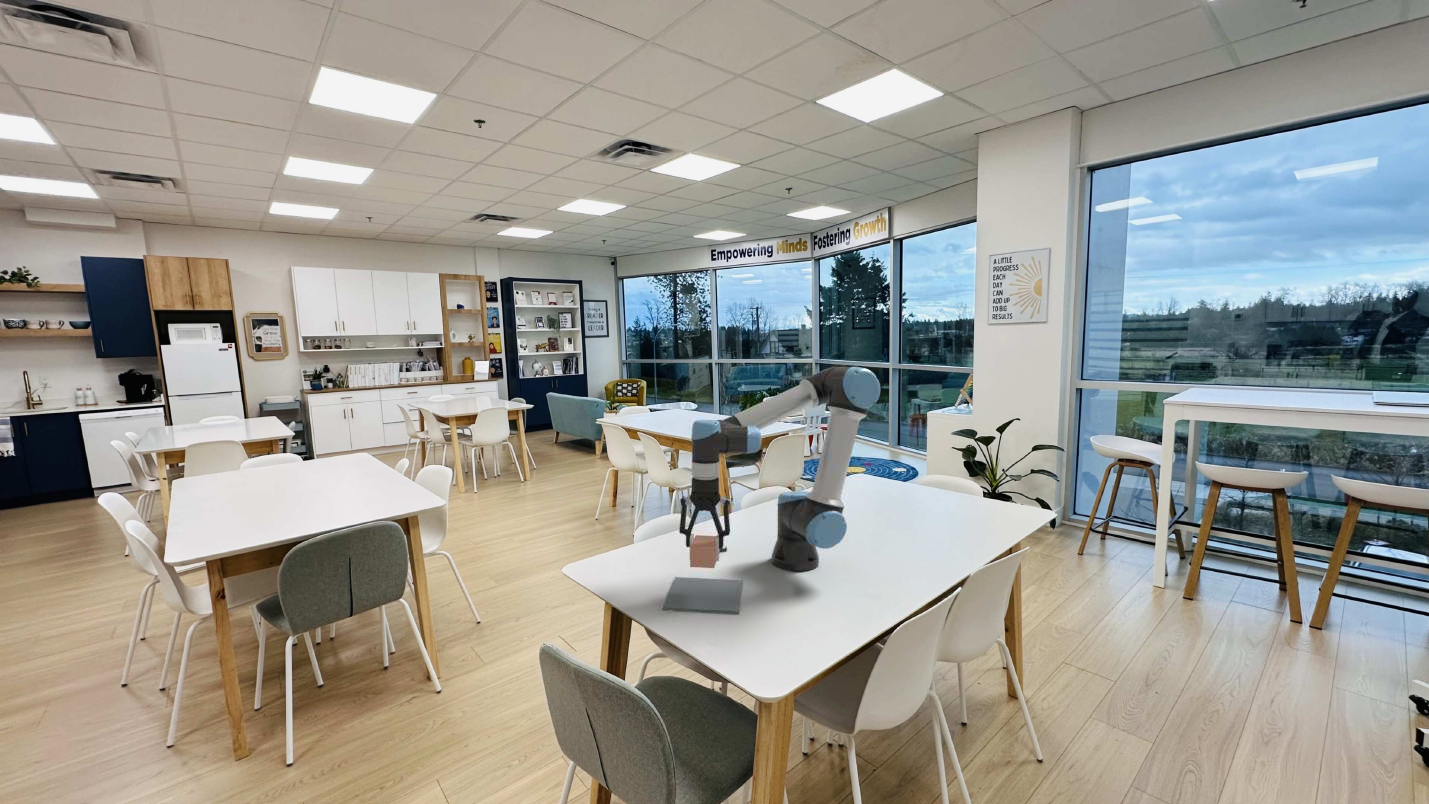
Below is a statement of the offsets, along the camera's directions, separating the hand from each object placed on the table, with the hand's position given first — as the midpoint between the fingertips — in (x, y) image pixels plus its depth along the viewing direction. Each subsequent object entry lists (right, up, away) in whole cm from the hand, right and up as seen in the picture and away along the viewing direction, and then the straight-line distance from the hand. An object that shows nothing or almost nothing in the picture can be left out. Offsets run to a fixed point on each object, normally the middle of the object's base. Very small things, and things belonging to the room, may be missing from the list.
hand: (704, 558), depth 154 cm
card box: (0, -1, 0) cm, 1 cm away
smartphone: (0, -8, +41) cm, 42 cm away
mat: (0, -11, +1) cm, 11 cm away
